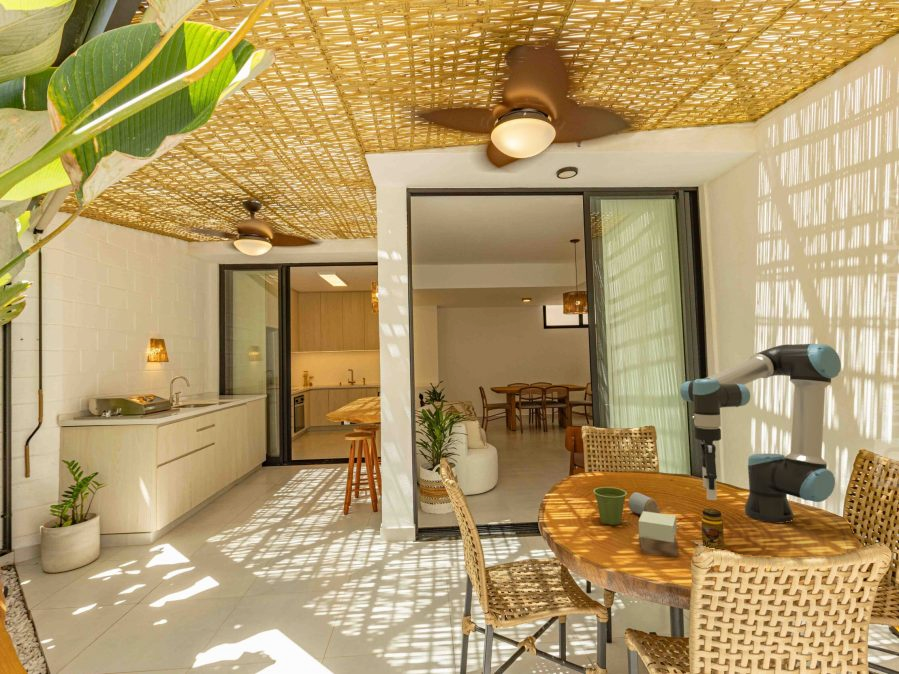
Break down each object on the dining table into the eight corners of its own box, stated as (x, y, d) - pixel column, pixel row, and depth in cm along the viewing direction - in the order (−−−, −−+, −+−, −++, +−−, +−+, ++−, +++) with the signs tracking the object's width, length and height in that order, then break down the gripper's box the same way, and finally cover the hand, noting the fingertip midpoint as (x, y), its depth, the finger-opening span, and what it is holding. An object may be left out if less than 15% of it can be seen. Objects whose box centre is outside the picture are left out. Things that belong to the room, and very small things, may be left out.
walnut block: (671, 544, 155) (670, 529, 155) (677, 557, 145) (677, 541, 145) (638, 542, 158) (638, 526, 158) (643, 554, 148) (642, 538, 148)
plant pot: (587, 520, 177) (586, 490, 177) (608, 514, 183) (607, 485, 184) (613, 530, 167) (612, 498, 167) (634, 523, 173) (633, 492, 174)
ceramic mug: (645, 519, 177) (645, 499, 177) (628, 513, 184) (627, 493, 184) (664, 515, 182) (664, 494, 182) (646, 508, 189) (646, 489, 189)
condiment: (708, 553, 147) (706, 515, 147) (694, 542, 155) (692, 505, 156) (731, 553, 147) (729, 514, 147) (716, 542, 155) (714, 505, 156)
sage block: (676, 531, 153) (675, 515, 153) (673, 542, 145) (673, 526, 145) (643, 526, 158) (643, 511, 158) (639, 536, 150) (638, 520, 150)
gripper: (691, 420, 165) (694, 481, 164) (697, 432, 142) (699, 503, 142) (716, 421, 162) (718, 484, 161) (725, 434, 139) (728, 506, 139)
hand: (709, 493), depth 152 cm, fingers open, 13 cm apart
